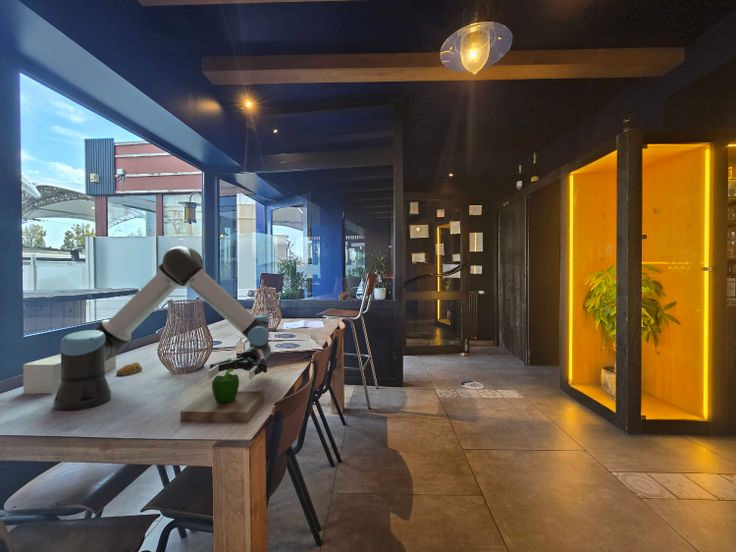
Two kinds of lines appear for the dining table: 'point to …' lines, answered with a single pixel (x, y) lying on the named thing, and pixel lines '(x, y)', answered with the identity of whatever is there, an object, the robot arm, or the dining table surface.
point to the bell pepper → (225, 387)
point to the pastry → (129, 369)
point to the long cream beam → (49, 374)
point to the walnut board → (223, 408)
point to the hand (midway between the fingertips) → (229, 374)
